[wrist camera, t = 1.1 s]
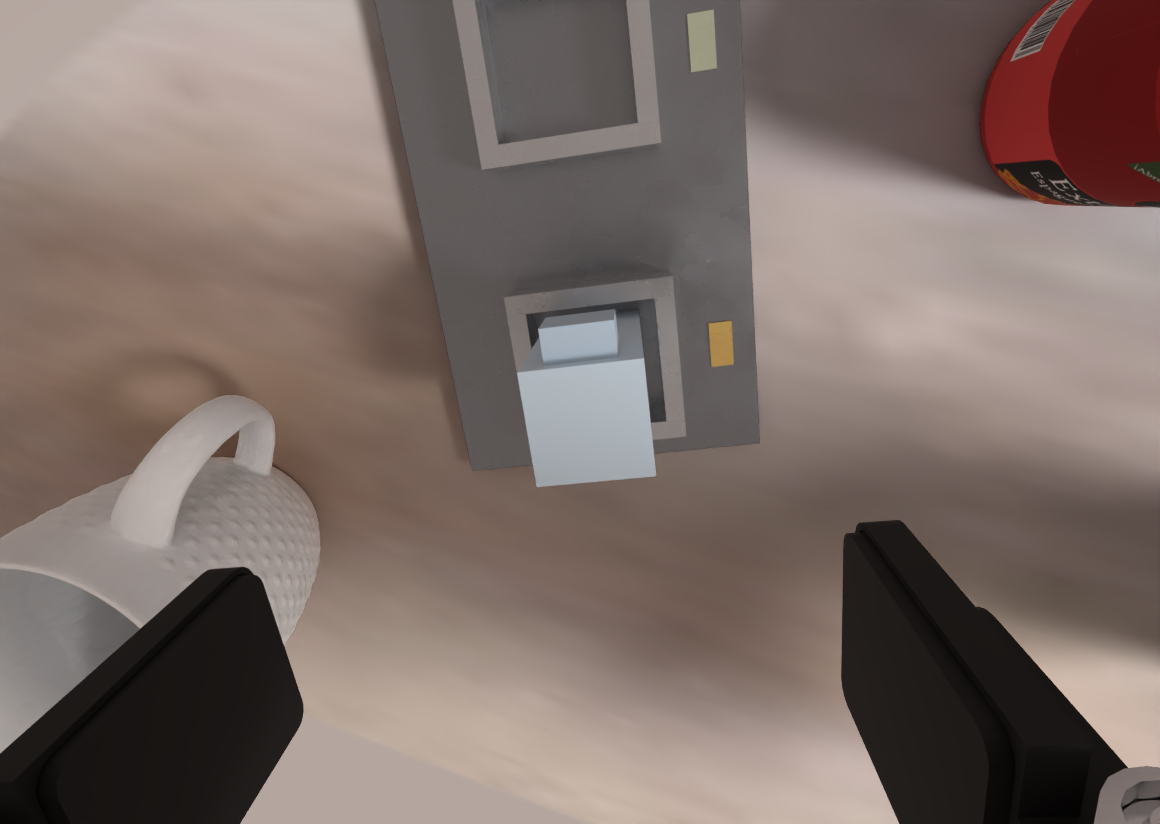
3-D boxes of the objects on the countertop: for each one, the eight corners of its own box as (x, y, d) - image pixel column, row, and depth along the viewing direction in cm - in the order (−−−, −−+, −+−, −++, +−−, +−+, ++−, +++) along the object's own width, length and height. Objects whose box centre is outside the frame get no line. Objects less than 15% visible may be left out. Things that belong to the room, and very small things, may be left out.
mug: (197, 318, 30) (-99, 401, 18) (407, 409, 31) (262, 548, 19) (144, 556, 35) (-117, 750, 23) (327, 629, 36) (170, 856, 23)
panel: (755, 435, 30) (769, 460, 27) (476, 462, 32) (462, 488, 29) (729, -110, 23) (744, -152, 20) (374, -41, 25) (341, -72, 22)
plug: (647, 394, 29) (656, 476, 20) (562, 403, 29) (536, 487, 21) (635, 281, 27) (640, 319, 19) (546, 293, 28) (510, 335, 19)
